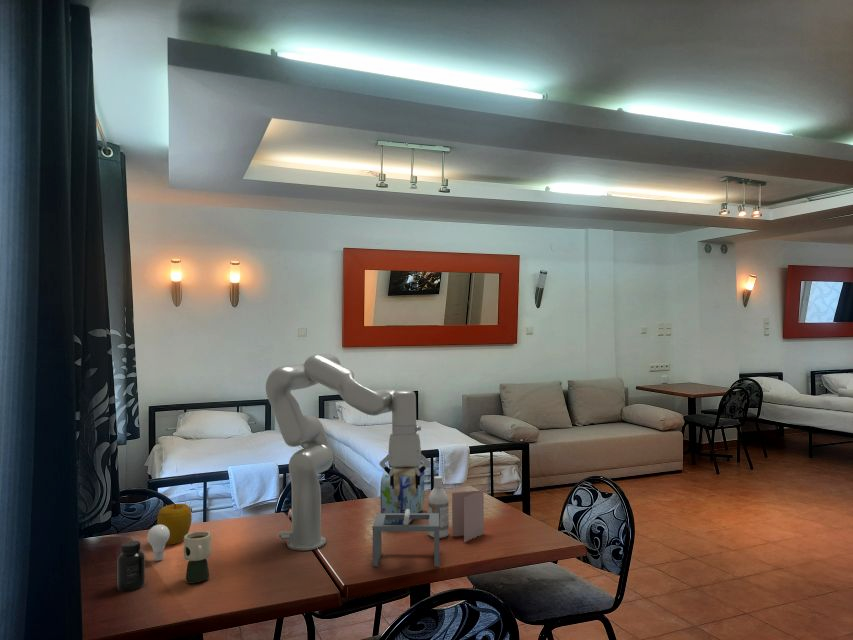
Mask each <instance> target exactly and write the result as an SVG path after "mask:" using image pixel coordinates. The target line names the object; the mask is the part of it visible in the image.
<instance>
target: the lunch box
mask: <svg viewBox="0 0 853 640" xmlns="http://www.w3.org/2000/svg"><path fill="white" fill-rule="evenodd" d="M423 465H424V462H423V461H421V464H420V466H419V469H420V468H421V467H422V466H423ZM389 468H390V469H391V467H389ZM425 475H426V473H425V470H424V471H423V472H422V473H421V475H420V485H418V489H416V496H411V486H410V476H400V493H399V496H394V489H392V486H390V476H389V474H388V473H387V472H386V471H385V470H384V472H383V474H382V475H381V480H380V490H379V491H380V513H405V510H406V509H409V510H410V513H421V511H422V509H423V505H424V502H425V501H424V500H425ZM413 520H414V519H409V524H410V523H411V522H412V521H413ZM403 522H404V519H387V520H385V524H384V525H404V524H403Z"/></svg>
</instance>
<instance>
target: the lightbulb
mask: <svg viewBox="0 0 853 640" xmlns="http://www.w3.org/2000/svg"><path fill="white" fill-rule="evenodd" d="M169 536H170V531H169V529H168V528H167V527H166V526H165V525H161V524H160V525H157V524H156V525H153V526H152V527H150V529H149V530H148V532H147V535H146V537H147V541H148V543H149V544H150V546H151V548H152V551H153V560H154V561H157V562H160V561H162V560H163V559H164V550H165V547H166V545H167V544H166V542H167V541H168V539H169Z"/></svg>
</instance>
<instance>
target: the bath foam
mask: <svg viewBox="0 0 853 640" xmlns="http://www.w3.org/2000/svg"><path fill="white" fill-rule="evenodd" d="M443 481H444V480H443V476H440V475H438V476H437V475H436V476H434V478H433V489H432V490H431V491H430V494H429V496H428V502H427V503H428V506H427V507H428V512H427V513H439V539H441V538H446V537H447V536H449V530H450V529H449V528H450V526H449V525H450V522H449V520H450V518H449V514H450V513H449V509H450V508H449V504H450V503H449V496H448V494H447V492H446V491H445V488H444V487H443ZM428 536H429V537H431V538H434V531H428Z"/></svg>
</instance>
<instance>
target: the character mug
mask: <svg viewBox="0 0 853 640" xmlns="http://www.w3.org/2000/svg"><path fill="white" fill-rule="evenodd" d="M211 536H212V535H211V532H209V531H206V530H197V531H193V532H188V534H186V535H185V536H184V540H183V559H185V560H186V561H187V565H186V570H185V571H186V574H185V582H186V583H188V584H197V583H198V584H199V583H200V582H203V581H205V580H208V579H209V578H210V572H209V570H210V569H209V562H208V560H207V559H208V558H209V557H211V553H212V552H211V548H212V545H211V542H212V541H211Z"/></svg>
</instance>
